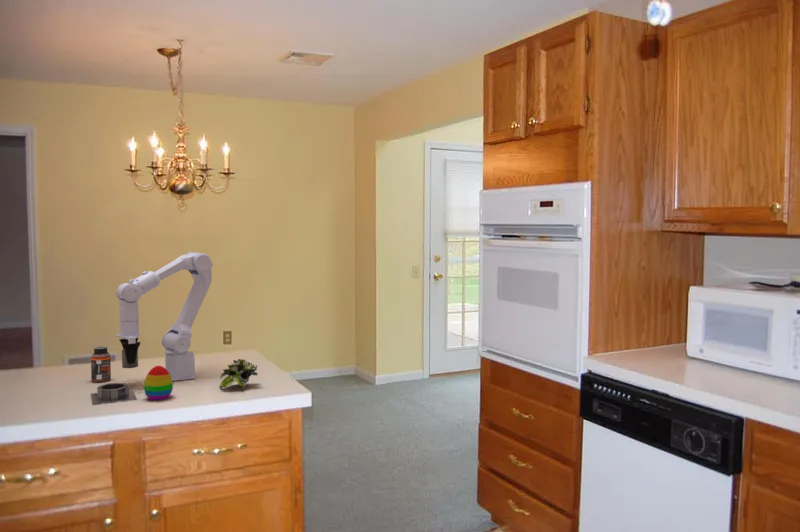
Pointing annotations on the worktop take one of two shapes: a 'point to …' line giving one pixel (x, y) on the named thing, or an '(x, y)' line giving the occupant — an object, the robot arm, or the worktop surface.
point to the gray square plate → (113, 393)
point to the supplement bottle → (100, 365)
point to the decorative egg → (158, 384)
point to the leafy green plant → (238, 373)
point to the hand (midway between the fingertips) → (130, 361)
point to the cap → (124, 361)
